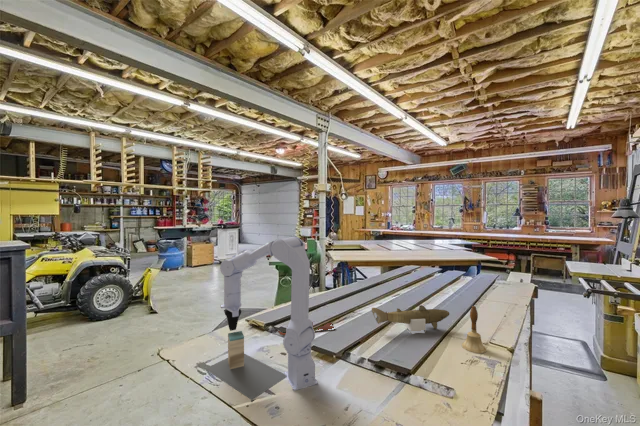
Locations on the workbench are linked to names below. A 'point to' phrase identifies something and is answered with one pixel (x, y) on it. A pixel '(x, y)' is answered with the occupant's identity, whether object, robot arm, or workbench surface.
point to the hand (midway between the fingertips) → (232, 329)
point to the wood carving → (412, 317)
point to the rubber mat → (247, 376)
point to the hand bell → (474, 336)
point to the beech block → (235, 349)
